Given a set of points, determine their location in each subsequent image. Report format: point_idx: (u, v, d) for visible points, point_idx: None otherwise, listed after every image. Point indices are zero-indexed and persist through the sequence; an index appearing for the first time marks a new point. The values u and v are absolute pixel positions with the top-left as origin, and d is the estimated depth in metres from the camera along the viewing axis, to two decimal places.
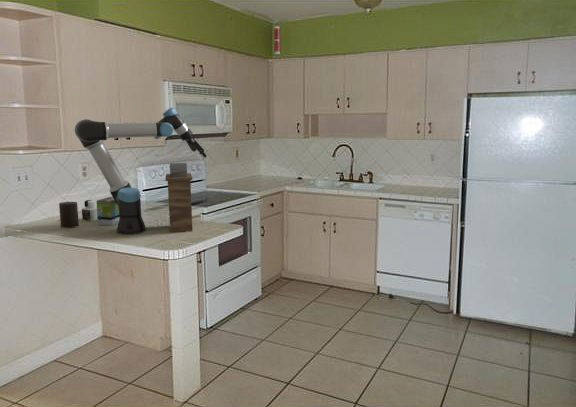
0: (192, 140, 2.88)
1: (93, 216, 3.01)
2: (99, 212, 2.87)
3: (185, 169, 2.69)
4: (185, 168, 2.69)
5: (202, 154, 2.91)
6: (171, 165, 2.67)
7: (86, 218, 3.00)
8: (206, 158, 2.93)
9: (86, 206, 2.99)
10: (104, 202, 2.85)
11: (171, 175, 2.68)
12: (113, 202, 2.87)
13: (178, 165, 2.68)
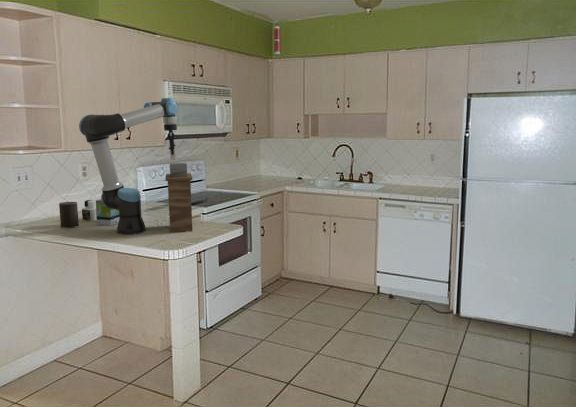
0: (170, 134, 2.96)
1: (93, 216, 3.01)
2: (98, 212, 2.87)
3: (185, 169, 2.69)
4: (185, 168, 2.69)
5: (171, 150, 2.97)
6: (171, 165, 2.67)
7: (86, 218, 3.00)
8: (172, 156, 2.98)
9: (86, 206, 2.99)
10: None
11: (171, 175, 2.68)
12: None
13: (178, 165, 2.68)
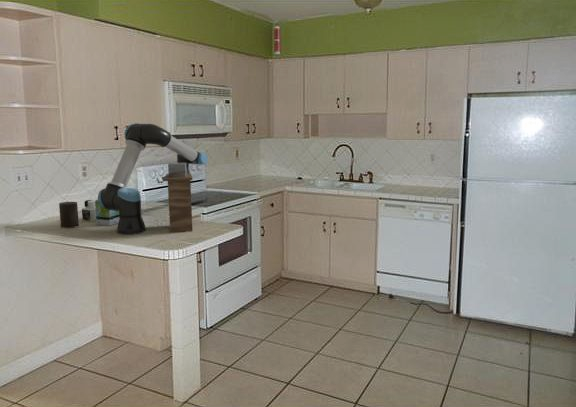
0: None
1: (93, 216, 3.01)
2: (98, 212, 2.87)
3: (183, 169, 2.69)
4: (183, 168, 2.69)
5: None
6: (169, 165, 2.68)
7: (86, 218, 3.00)
8: None
9: (86, 206, 2.99)
10: None
11: (169, 175, 2.69)
12: None
13: (176, 165, 2.68)
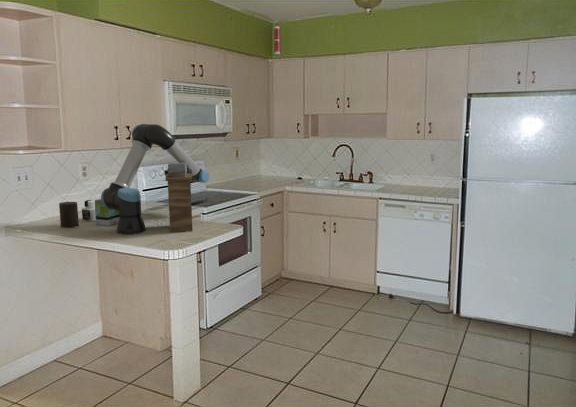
0: None
1: (93, 216, 3.01)
2: (97, 212, 2.88)
3: (183, 169, 2.69)
4: (183, 168, 2.68)
5: None
6: (169, 165, 2.68)
7: (86, 218, 3.00)
8: None
9: (86, 206, 2.99)
10: (101, 202, 2.85)
11: (169, 175, 2.69)
12: None
13: (176, 165, 2.68)
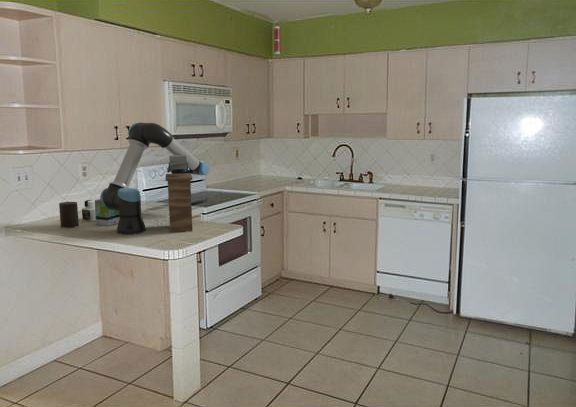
0: (188, 168, 3.00)
1: (93, 216, 3.01)
2: (97, 212, 2.88)
3: (185, 161, 2.70)
4: (184, 160, 2.70)
5: None
6: (171, 157, 2.68)
7: (86, 218, 3.00)
8: None
9: (86, 206, 2.99)
10: None
11: (171, 167, 2.69)
12: None
13: (178, 157, 2.69)
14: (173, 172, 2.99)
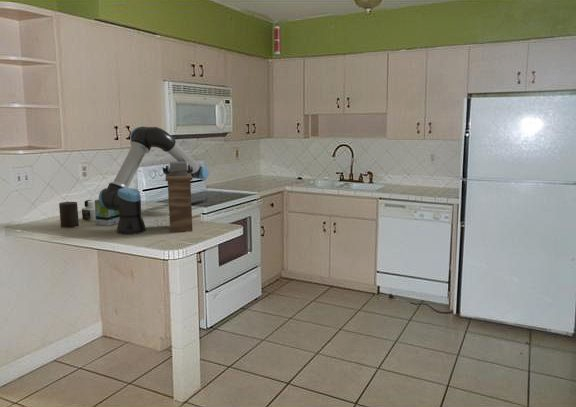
0: None
1: (93, 216, 3.01)
2: (97, 212, 2.88)
3: (185, 168, 2.75)
4: (185, 166, 2.75)
5: None
6: (171, 164, 2.73)
7: (86, 218, 3.00)
8: (187, 165, 2.93)
9: (86, 206, 2.99)
10: None
11: (171, 174, 2.74)
12: None
13: (178, 164, 2.74)
14: None
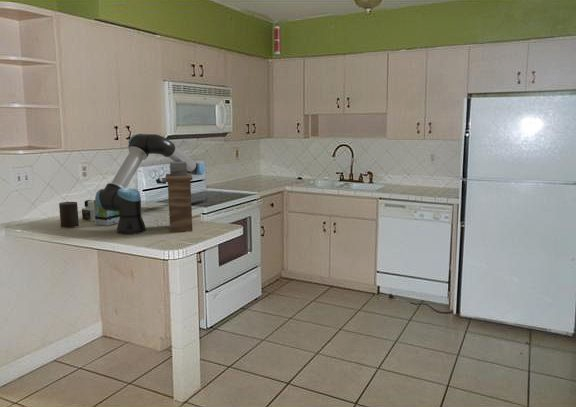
0: None
1: (93, 216, 3.01)
2: (96, 212, 2.88)
3: (185, 168, 2.75)
4: (185, 166, 2.75)
5: None
6: (171, 164, 2.73)
7: (86, 218, 3.00)
8: None
9: (86, 206, 2.99)
10: None
11: (171, 174, 2.74)
12: None
13: (178, 164, 2.74)
14: None
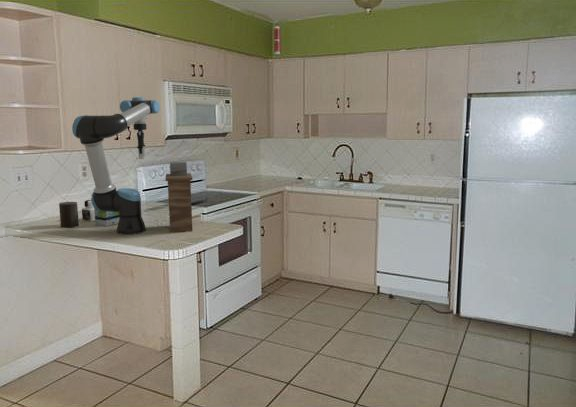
0: (139, 133, 2.96)
1: (93, 216, 3.01)
2: (96, 212, 2.87)
3: (185, 168, 2.75)
4: (185, 166, 2.75)
5: (139, 149, 2.97)
6: (171, 164, 2.73)
7: (86, 218, 3.00)
8: (140, 155, 2.98)
9: (86, 206, 2.99)
10: None
11: (171, 174, 2.74)
12: None
13: (178, 164, 2.74)
14: (142, 133, 3.06)
